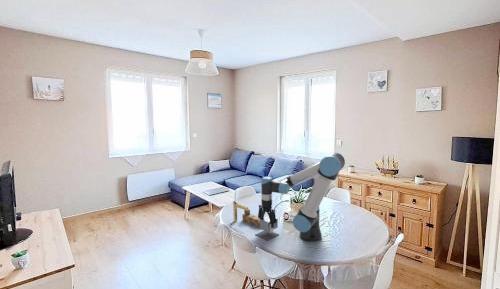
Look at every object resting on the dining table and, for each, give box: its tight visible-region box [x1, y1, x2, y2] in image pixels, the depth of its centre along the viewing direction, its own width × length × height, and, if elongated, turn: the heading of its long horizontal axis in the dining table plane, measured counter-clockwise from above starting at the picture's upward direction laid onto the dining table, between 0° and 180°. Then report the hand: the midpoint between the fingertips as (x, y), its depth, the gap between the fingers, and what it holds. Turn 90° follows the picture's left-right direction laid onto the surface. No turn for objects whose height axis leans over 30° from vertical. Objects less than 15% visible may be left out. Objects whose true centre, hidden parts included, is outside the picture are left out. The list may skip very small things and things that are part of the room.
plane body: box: [241, 208, 260, 228], centre depth 210 cm, size 20×5×9 cm, turn 44°
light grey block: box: [259, 215, 279, 232], centre depth 190 cm, size 10×8×7 cm
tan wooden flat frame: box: [232, 200, 249, 222], centre depth 209 cm, size 16×3×16 cm, turn 44°
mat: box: [254, 230, 279, 241], centre depth 189 cm, size 12×12×1 cm
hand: (266, 229), depth 189 cm, fingers closed on light grey block, 8 cm apart
